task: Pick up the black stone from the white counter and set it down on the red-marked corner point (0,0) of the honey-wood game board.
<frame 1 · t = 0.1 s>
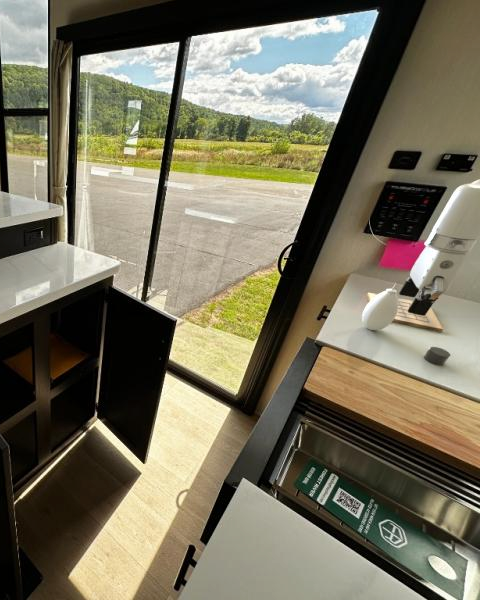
hand: (410, 304, 81), 23 cm above the countertop, tool pointing down, fingers open, 9 cm apart
white air blower bulb: (370, 328, 109), on the countertop
board: (400, 311, 117), on the countertop
stone: (433, 360, 95), on the countertop
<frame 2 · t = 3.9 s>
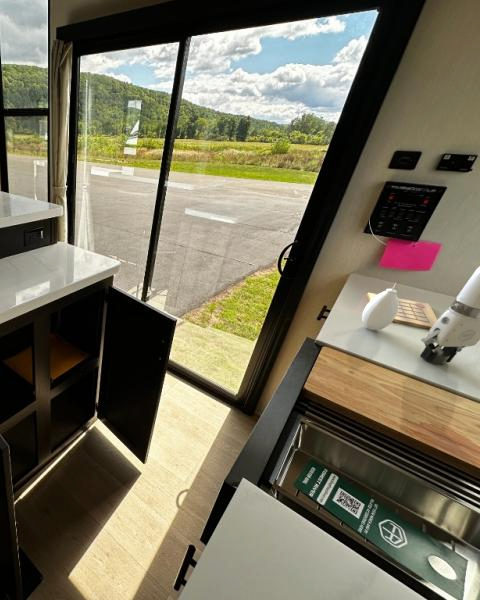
hand: (434, 358, 95), 1 cm above the countertop, tool pointing down, fingers closed on stone, 4 cm apart
stone: (433, 360, 95), on the countertop, touching gripper
everything else where it was.
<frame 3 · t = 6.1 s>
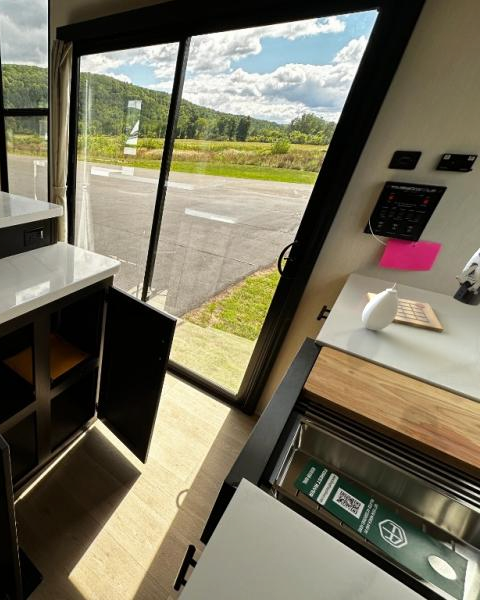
hand: (469, 299, 88), 19 cm above the countertop, tool pointing down, fingers closed on stone, 4 cm apart
stone: (468, 301, 89), point 18 cm above the countertop, touching gripper
everything else where it was.
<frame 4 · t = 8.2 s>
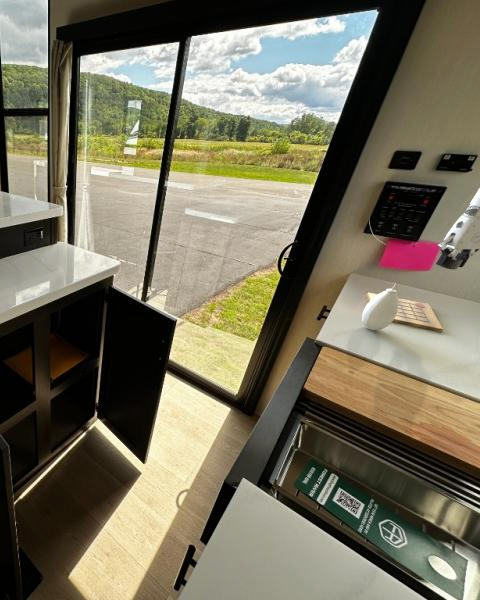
hand: (449, 265, 106), 19 cm above the countertop, tool pointing down, fingers closed on stone, 4 cm apart
stone: (448, 266, 107), point 18 cm above the countertop, touching gripper
everything else where it was.
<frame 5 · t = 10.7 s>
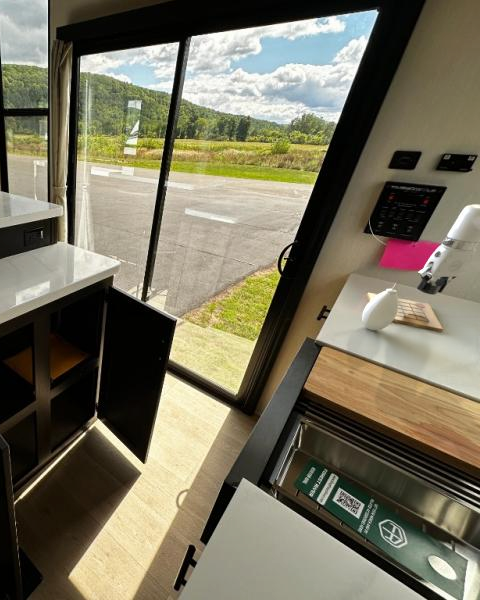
hand: (429, 290, 114), 8 cm above the countertop, tool pointing down, fingers closed on stone, 4 cm apart
stone: (428, 291, 115), point 7 cm above the countertop, touching gripper
everything else where it was.
when the fingers open (2 cm above the countertop, at t = 12.5 s): stone stays where it is, resting on board.
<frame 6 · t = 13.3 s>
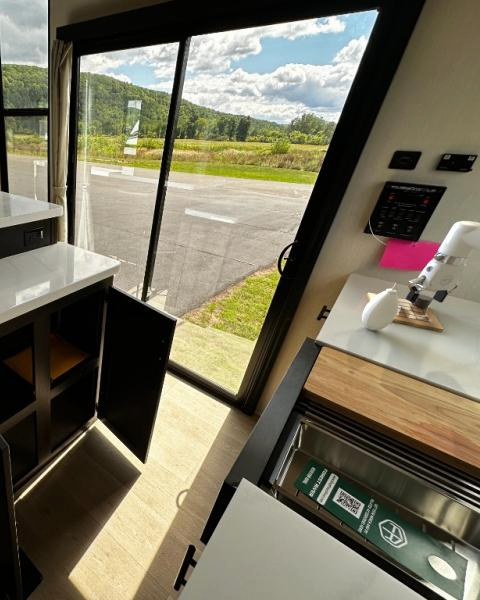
hand: (423, 300, 117), 3 cm above the countertop, tool pointing down, fingers open, 9 cm apart
stone: (419, 305, 118), point 1 cm above the countertop, touching board
everything else where it was.
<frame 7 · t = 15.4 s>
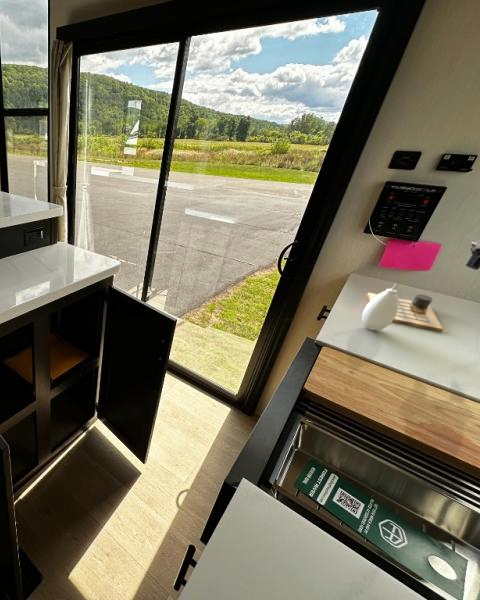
nothing on the countertop moved.
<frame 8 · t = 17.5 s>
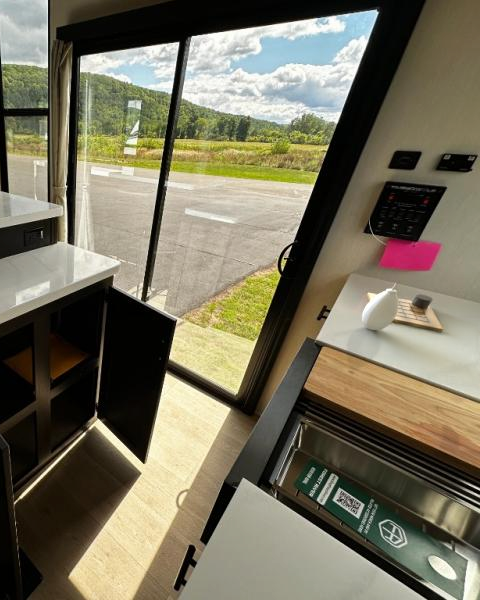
nothing on the countertop moved.
at the end: stone 0.1 cm from the target spot on the board, point 1.3 cm above the board's base; stone tilted 0°; the gripper is holding nothing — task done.
